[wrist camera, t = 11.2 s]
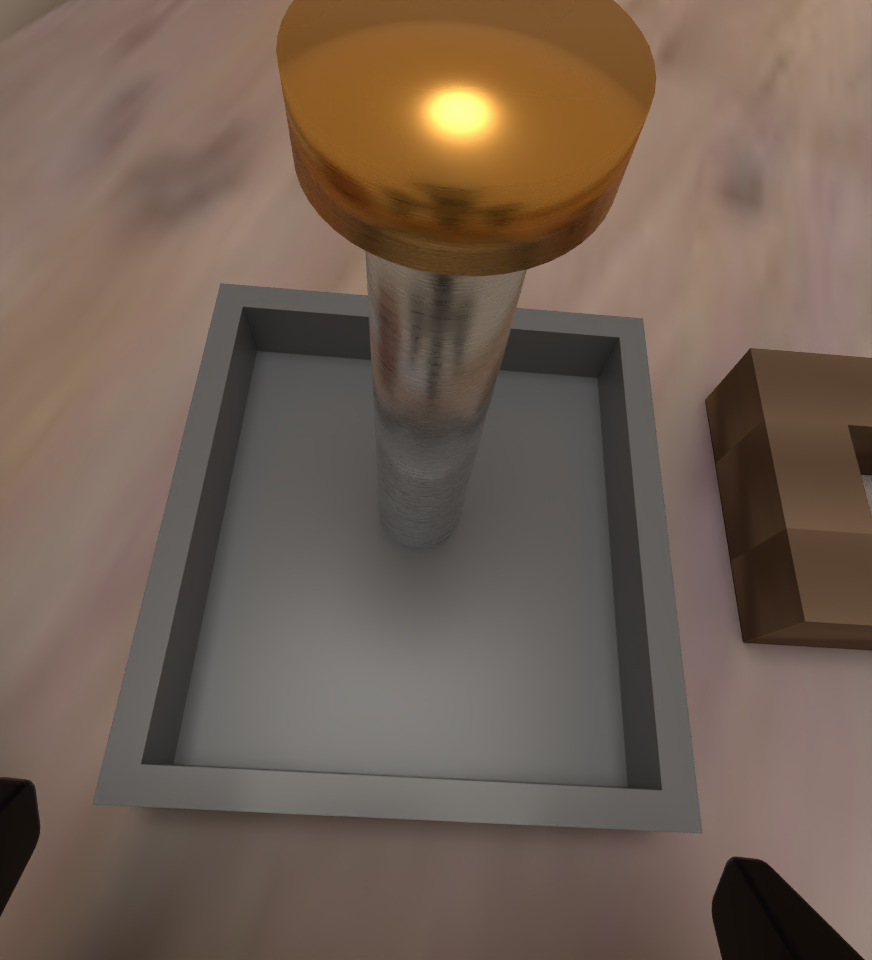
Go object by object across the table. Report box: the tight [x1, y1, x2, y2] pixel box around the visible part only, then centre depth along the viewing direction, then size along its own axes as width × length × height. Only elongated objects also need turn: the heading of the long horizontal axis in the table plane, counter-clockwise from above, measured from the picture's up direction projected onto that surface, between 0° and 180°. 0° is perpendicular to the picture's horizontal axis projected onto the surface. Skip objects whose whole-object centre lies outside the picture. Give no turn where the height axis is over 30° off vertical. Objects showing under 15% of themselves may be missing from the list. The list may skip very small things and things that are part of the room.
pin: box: [276, 0, 656, 549], centre depth 13 cm, size 4×4×13 cm
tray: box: [93, 283, 702, 833], centre depth 18 cm, size 14×13×3 cm
